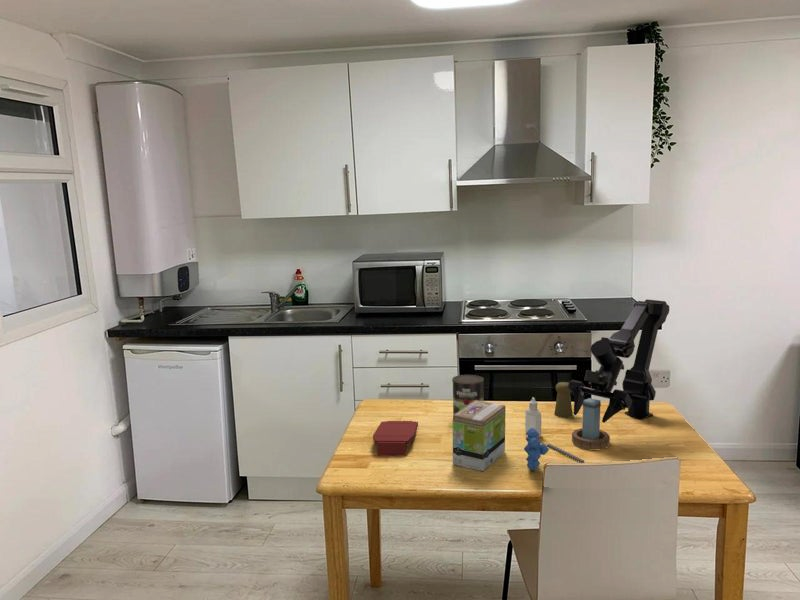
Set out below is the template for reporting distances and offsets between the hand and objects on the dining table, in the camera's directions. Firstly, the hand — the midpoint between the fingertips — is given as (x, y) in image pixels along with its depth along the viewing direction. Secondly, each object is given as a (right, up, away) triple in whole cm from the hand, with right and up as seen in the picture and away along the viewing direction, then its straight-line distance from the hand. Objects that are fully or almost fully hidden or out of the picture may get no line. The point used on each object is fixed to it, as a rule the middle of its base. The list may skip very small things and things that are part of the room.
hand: (588, 418), depth 183 cm
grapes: (-19, -12, -14) cm, 26 cm away
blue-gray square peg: (+1, -8, +2) cm, 8 cm away
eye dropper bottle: (-14, -7, +10) cm, 19 cm away
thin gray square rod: (-8, -9, -5) cm, 13 cm away
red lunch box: (-57, -9, +11) cm, 58 cm away
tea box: (-33, -11, -6) cm, 35 cm away
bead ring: (+1, -8, +2) cm, 8 cm away
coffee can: (-33, -5, +25) cm, 41 cm away
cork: (-1, -4, +26) cm, 26 cm away
